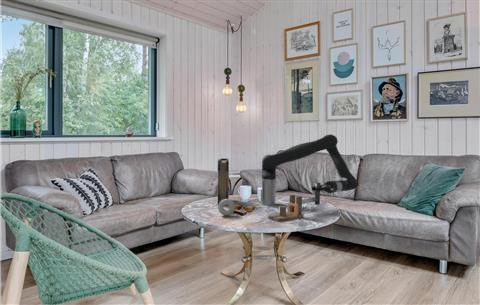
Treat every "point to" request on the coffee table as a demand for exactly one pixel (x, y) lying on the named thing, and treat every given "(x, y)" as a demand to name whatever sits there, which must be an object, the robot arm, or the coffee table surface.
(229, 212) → the donut
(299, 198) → the shaft stand
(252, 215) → the coffee table surface
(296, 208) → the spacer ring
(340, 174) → the robot arm
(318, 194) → the grey piece
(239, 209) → the coffee table surface
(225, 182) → the decorative book
